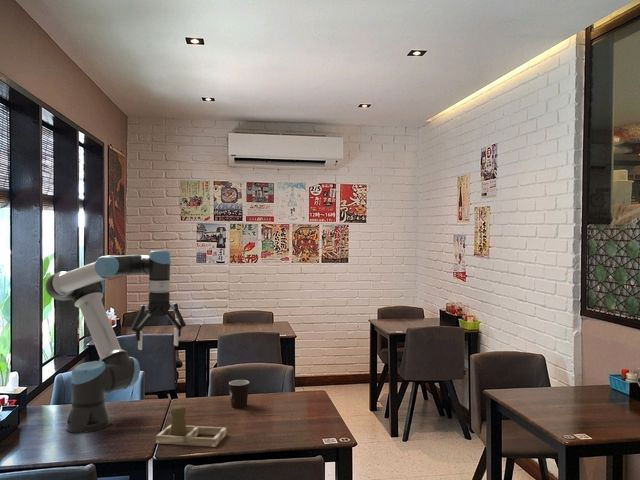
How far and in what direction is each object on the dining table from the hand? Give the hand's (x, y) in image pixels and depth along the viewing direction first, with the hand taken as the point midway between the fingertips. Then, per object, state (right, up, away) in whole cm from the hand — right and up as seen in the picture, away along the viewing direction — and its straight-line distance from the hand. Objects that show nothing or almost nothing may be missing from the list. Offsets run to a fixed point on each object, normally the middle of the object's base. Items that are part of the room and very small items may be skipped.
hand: (158, 347), depth 196 cm
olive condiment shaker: (+11, -30, -12) cm, 34 cm away
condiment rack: (+16, -30, -12) cm, 36 cm away
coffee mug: (+27, -30, +26) cm, 48 cm away
